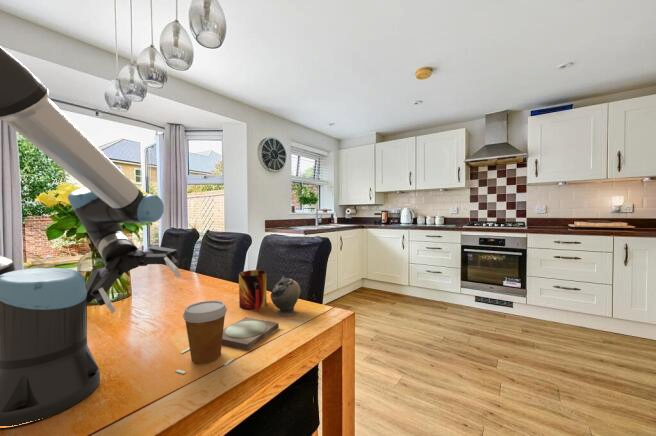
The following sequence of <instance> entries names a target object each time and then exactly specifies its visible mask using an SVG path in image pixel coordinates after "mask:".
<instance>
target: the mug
mask: <svg viewBox="0 0 656 436" xmlns="http://www.w3.org/2000/svg"><path fill="white" fill-rule="evenodd" d="M238 288H239V289H238V294H239V296H238V298H239V301H238V303H239V304H238V305H239V308H240V309H241V310H245V311H252V310H255V311H256V312H258V311H260V309H263V308H265V307H266V306H267V304H268V303H267V271H266V270H261V269H251V270H245V271H241V272H238Z"/></svg>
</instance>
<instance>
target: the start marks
mask: <svg viewBox="0 0 656 436" xmlns="http://www.w3.org/2000/svg"><path fill="white" fill-rule="evenodd" d="M189 351H190V347H188V348H186V349H185V350H182V351H181V352H180V354H181V355H182V354H184V353H186V352H189ZM233 361H235V360H234V359H233V358H231V359H230V360H228V361H227V362H225V363H223V366H226V367H227V365H229V364H231V363H232V362H233ZM175 372H176V373H179V374H181V375H185V374H186V373H187V372H186V371H184V370H181V369H176V370H175Z"/></svg>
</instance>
